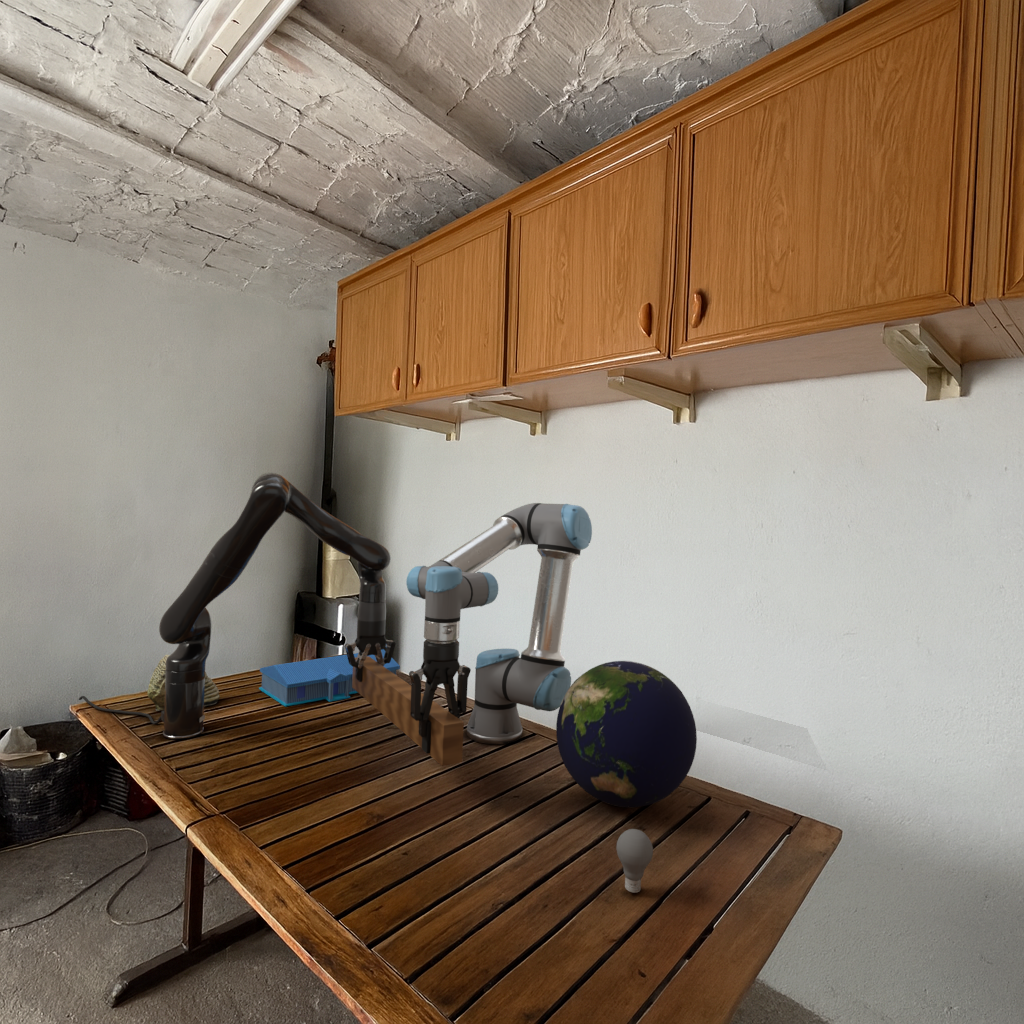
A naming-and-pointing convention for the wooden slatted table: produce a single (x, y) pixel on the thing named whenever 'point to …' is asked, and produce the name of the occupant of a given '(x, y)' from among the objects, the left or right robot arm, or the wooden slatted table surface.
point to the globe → (626, 734)
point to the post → (396, 706)
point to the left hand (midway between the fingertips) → (369, 679)
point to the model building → (313, 679)
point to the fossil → (158, 687)
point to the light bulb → (634, 857)
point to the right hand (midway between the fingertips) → (437, 748)
